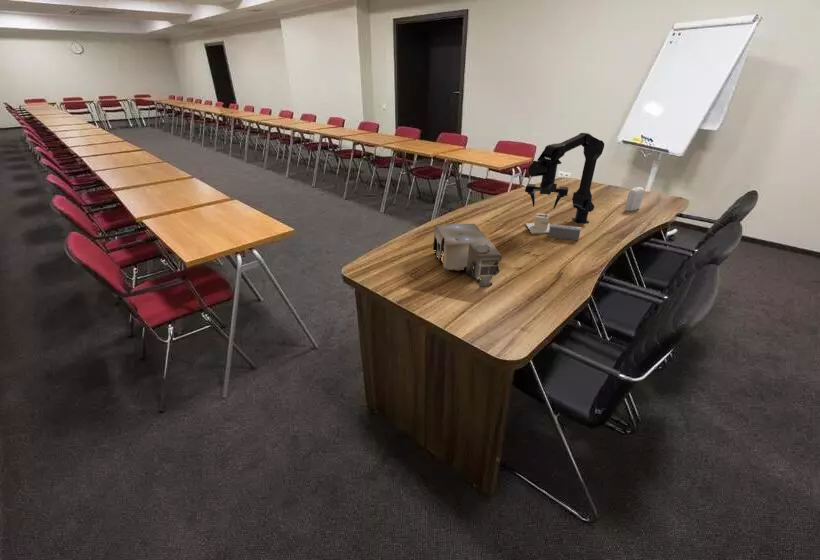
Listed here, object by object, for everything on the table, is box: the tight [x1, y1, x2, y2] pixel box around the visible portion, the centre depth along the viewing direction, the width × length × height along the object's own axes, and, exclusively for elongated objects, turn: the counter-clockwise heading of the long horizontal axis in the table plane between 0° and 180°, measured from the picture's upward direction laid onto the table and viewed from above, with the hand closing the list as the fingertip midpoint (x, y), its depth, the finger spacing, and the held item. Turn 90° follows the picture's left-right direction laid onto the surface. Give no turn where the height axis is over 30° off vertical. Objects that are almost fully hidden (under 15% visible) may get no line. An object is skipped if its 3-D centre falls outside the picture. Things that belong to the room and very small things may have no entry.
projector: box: [432, 223, 502, 288], centre depth 146 cm, size 18×33×13 cm, turn 7°
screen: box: [548, 223, 582, 241], centre depth 174 cm, size 3×14×6 cm, turn 67°
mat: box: [525, 222, 551, 234], centre depth 186 cm, size 12×12×1 cm
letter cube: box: [533, 212, 550, 230], centre depth 184 cm, size 6×6×6 cm
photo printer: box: [624, 186, 645, 212], centre depth 209 cm, size 10×4×12 cm, turn 123°
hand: (543, 207), depth 181 cm, fingers open, 9 cm apart
